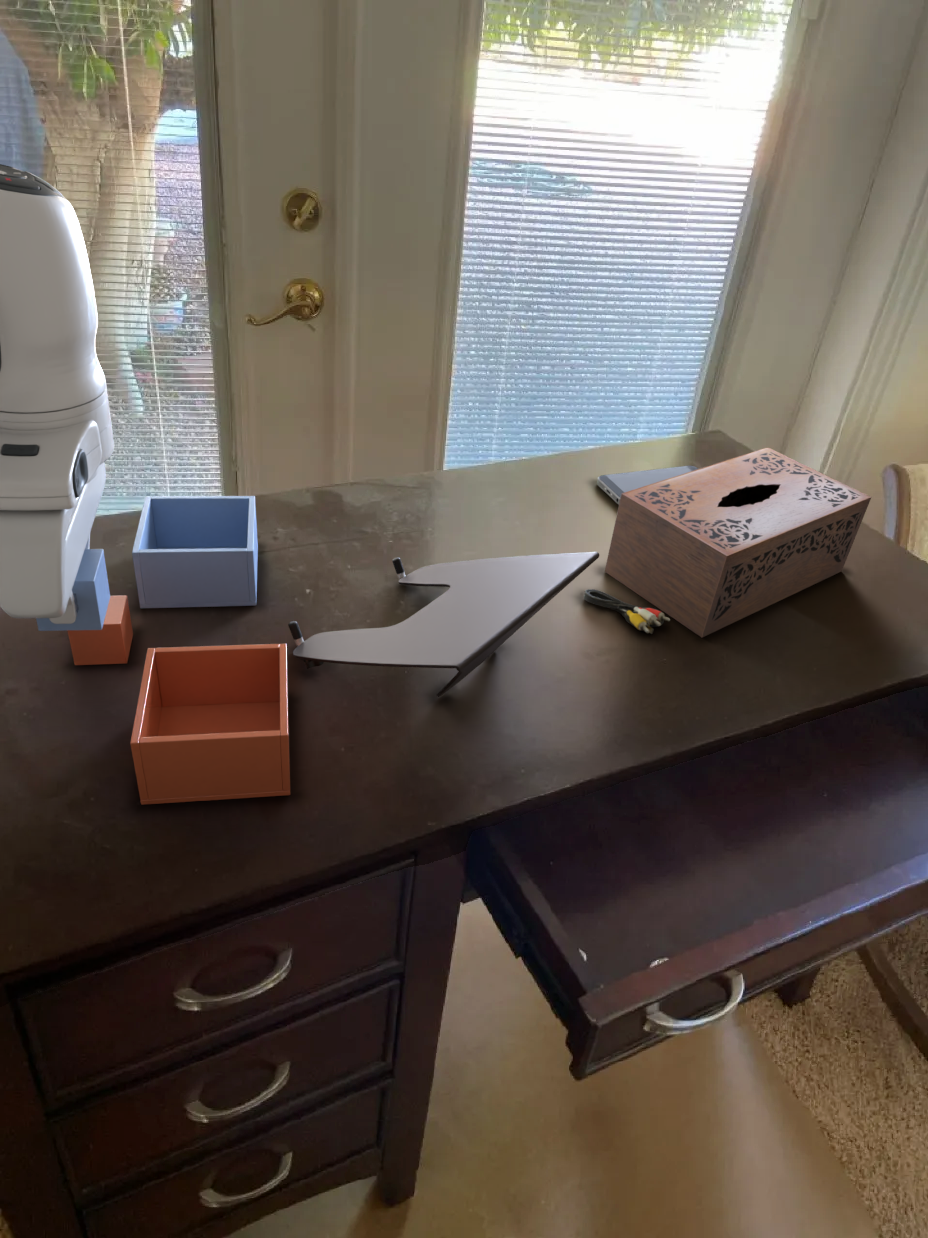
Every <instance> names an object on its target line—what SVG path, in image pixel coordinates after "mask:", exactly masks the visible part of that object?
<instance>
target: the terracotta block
mask: <svg viewBox="0 0 928 1238" xmlns="http://www.w3.org/2000/svg"><path fill="white" fill-rule="evenodd" d="M128 599H129V598H128V595H125V594H124V595H122V594H121V595H110V600H109V604H108V608H107V612H106V616H105V619H104V623H103V627H102V630H66V631H67V635H68V640H69V645H70V649H71V654H72V658H73V663H74V666H93V665H94V666H95V665H120V664H121V665H123V664H124V665H125V664H128V661H129V657H130V651H131V646H132V641H133V637H134V630H133V624H132V623H133V622H132V617H131V611H130V606H129V600H128Z"/></svg>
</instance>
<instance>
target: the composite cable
mask: <svg viewBox="0 0 928 1238" xmlns="http://www.w3.org/2000/svg"><path fill="white" fill-rule="evenodd" d="M583 600H585V601H586V602H587V603H590V604H593V605H596V606H600V607H604V608H606V609H607V608H608V609H611V610H614V611H616V612H618V613H619V614H621V615H622V617H624V619H625V621H626V622H627V623H628V624H629V625H631V626H632V627H634V628H635V629H636V630H638V631H642V632H645V634H651V635H652V634H653V633H654V630H655V629H654V628H656V627H660V626H662V625H663V624H664V623H665V622H670V621H671V619H670V618H671V617H667V616H666V615H665V612H663V611H662V610H660V609H656V608H653V607H646V606H638V605H634V604H631V603H628V602H624V601H623V600H621V599H618V598H616V597H615V596H612V595H610V594H609V593H607V592H605V591H602V590H598V589H595V588H593V589H592V588H590V589H589V588H588V589H585V590H584V595H583Z"/></svg>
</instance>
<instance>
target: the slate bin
mask: <svg viewBox="0 0 928 1238" xmlns="http://www.w3.org/2000/svg"><path fill="white" fill-rule="evenodd" d="M256 506H257V504H256V496H255V495H152V496H150V495H146V496H144V501H143V505H142V509H141V513H140V517H139V520H138V526H137V530H136V534H135V539H134V541H133V546H132V552H131V555H132V563H133V569H134V577H135V582H136V590H137V595H138V603H139V608H140V609H167V608H168V609H170V608H172V609H173V608H174V609H175V608H176V609H177V608H208V607H209V608H210V607H211V608H213V607H214V608H215V607H246V606H247V607H250V606H257V600H258V599H257V598H258V597H257V593H258V563H259V562H258V557H259V544H258V543H259V541H258V525H257V507H256Z"/></svg>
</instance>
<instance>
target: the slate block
mask: <svg viewBox="0 0 928 1238" xmlns="http://www.w3.org/2000/svg"><path fill="white" fill-rule="evenodd" d="M72 592H73V593H76V596H77V604H78V608H79V609H78V613H77V617H76V620H75V622H74V623H72V624H55V623H52V622H51V621H50V619H49V618H35V621H36V625H37V630H38V631H39V632H55V631H58V632H59V631H64V632H65V631H67V630H102V627H103V623H104V619H105V616H106V612H107V608H108V604H109V600H110V596H111V592H110V584H109V578H108V571H107V565H106V558H105V551H104V549H103V548H90V549H85V550H84V553H83V556H82V560H81V563H80V566H79V569H78V572H77V575H76V578H75V582H74V585H73V588H72Z"/></svg>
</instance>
